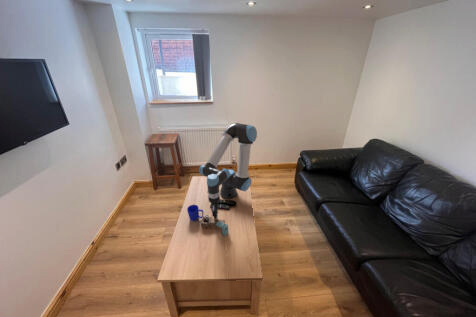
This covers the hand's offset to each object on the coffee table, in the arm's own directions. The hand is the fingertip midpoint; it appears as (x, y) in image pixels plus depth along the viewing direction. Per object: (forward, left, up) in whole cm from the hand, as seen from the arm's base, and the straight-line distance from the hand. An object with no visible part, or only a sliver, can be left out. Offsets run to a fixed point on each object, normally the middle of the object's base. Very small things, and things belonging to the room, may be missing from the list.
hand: (215, 220), depth 141 cm
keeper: (+4, +9, -3) cm, 10 cm away
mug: (+4, -16, -4) cm, 17 cm away
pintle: (+4, -5, -3) cm, 7 cm away
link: (+3, 0, -3) cm, 4 cm away
